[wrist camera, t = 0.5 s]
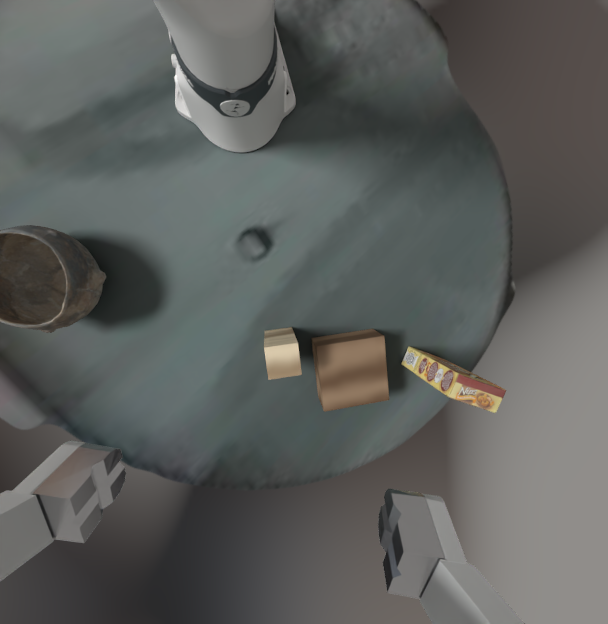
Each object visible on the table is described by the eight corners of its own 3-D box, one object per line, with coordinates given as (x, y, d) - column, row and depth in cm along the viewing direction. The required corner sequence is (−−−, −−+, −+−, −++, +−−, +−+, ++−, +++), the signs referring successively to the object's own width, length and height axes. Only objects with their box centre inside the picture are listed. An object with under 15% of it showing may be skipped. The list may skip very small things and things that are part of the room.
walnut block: (311, 337, 54) (316, 346, 48) (371, 328, 55) (384, 335, 49) (318, 396, 56) (324, 411, 50) (376, 386, 57) (389, 399, 51)
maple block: (264, 330, 52) (264, 347, 42) (291, 327, 53) (297, 342, 42) (268, 356, 53) (268, 379, 43) (294, 352, 54) (301, 374, 43)
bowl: (70, 337, 48) (19, 355, 39) (-4, 263, 45) (-79, 263, 36) (135, 287, 48) (102, 293, 39) (66, 210, 45) (11, 195, 36)
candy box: (400, 364, 57) (447, 399, 42) (408, 344, 56) (458, 373, 41) (437, 376, 58) (496, 415, 43) (445, 357, 58) (508, 390, 43)
